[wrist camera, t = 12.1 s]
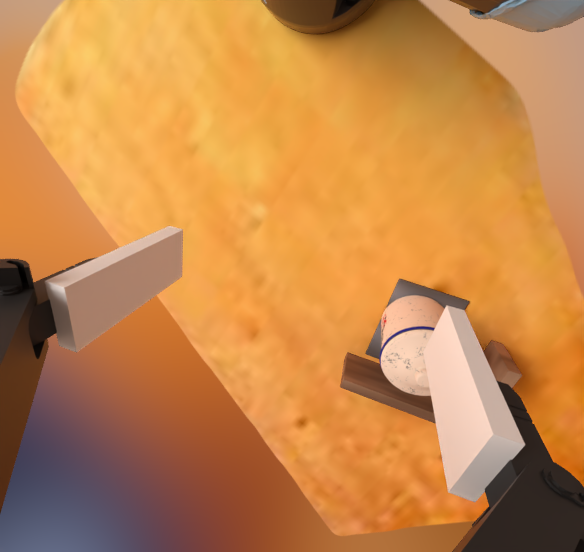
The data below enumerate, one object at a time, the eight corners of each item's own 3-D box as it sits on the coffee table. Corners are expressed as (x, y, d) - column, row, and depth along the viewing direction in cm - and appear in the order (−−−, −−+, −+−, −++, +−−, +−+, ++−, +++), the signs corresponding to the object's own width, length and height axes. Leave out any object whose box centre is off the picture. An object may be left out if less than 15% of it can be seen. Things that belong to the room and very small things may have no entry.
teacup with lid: (368, 305, 42) (365, 357, 32) (436, 282, 39) (457, 333, 29) (401, 372, 45) (408, 440, 35) (467, 356, 42) (496, 427, 31)
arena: (380, 272, 40) (381, 292, 35) (521, 318, 38) (544, 346, 33) (344, 359, 47) (340, 387, 42) (461, 402, 45) (473, 437, 40)
